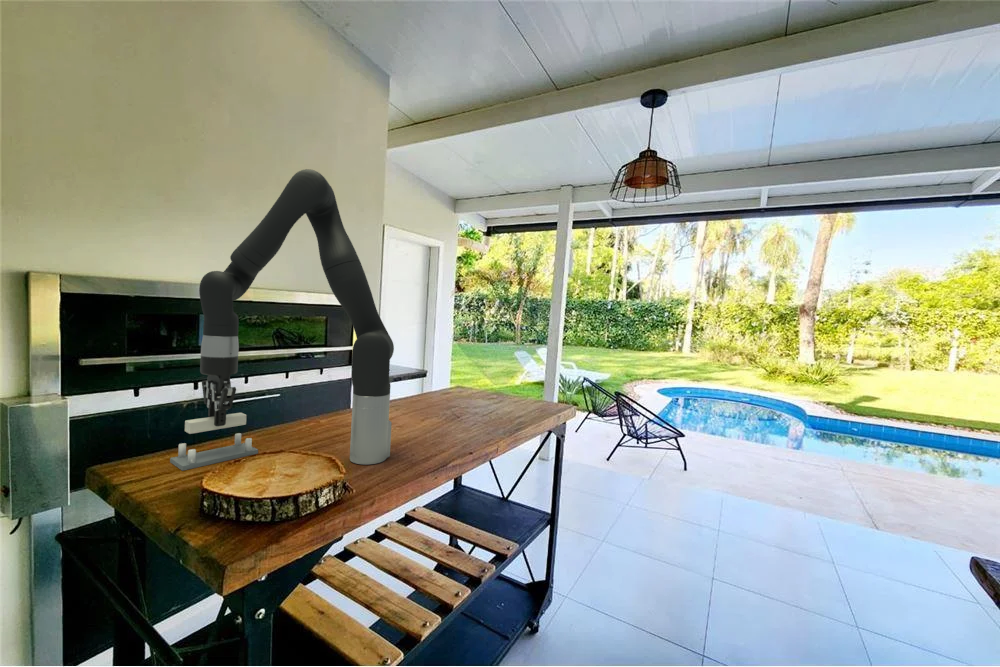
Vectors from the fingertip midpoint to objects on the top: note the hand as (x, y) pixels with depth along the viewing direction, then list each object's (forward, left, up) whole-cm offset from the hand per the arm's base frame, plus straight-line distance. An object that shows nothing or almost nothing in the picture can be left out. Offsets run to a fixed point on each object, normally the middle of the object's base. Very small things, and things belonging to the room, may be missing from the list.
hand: (216, 423), depth 98 cm
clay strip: (0, 0, -1) cm, 1 cm away
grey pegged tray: (0, 0, -8) cm, 8 cm away
